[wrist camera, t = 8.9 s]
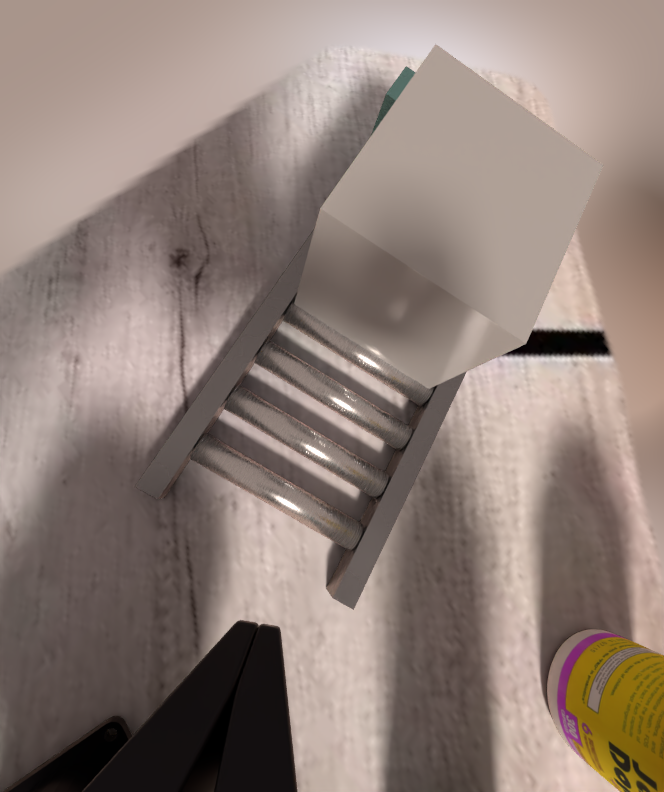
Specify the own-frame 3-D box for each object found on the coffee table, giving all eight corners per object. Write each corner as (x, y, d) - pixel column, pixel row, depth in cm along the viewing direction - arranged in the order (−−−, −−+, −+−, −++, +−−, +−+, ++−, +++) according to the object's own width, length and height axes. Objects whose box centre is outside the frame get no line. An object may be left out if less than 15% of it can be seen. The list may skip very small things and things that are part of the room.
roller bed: (513, 252, 27) (585, 193, 21) (345, 599, 20) (384, 649, 14) (371, 155, 26) (406, 66, 20) (143, 485, 19) (99, 490, 13)
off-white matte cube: (428, 389, 22) (526, 343, 14) (294, 304, 21) (320, 208, 14) (492, 260, 25) (603, 164, 17) (375, 181, 24) (435, 44, 16)
